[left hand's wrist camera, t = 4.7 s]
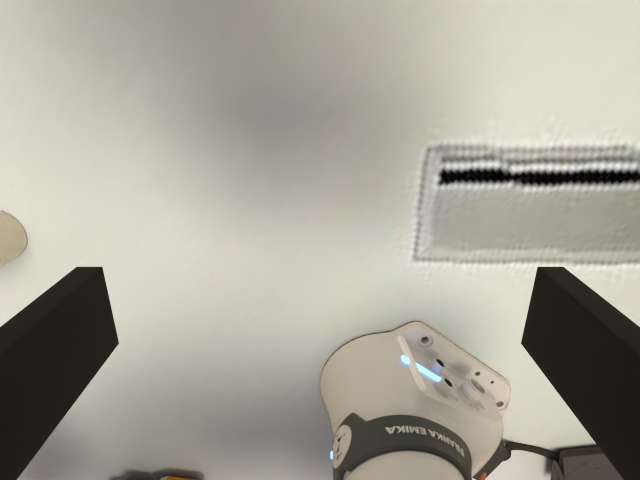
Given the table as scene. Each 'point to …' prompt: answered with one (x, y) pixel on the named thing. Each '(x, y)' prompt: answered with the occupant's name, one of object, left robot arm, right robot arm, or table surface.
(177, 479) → the spray gun
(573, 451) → the toy
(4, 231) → the bottle
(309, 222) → the table surface
